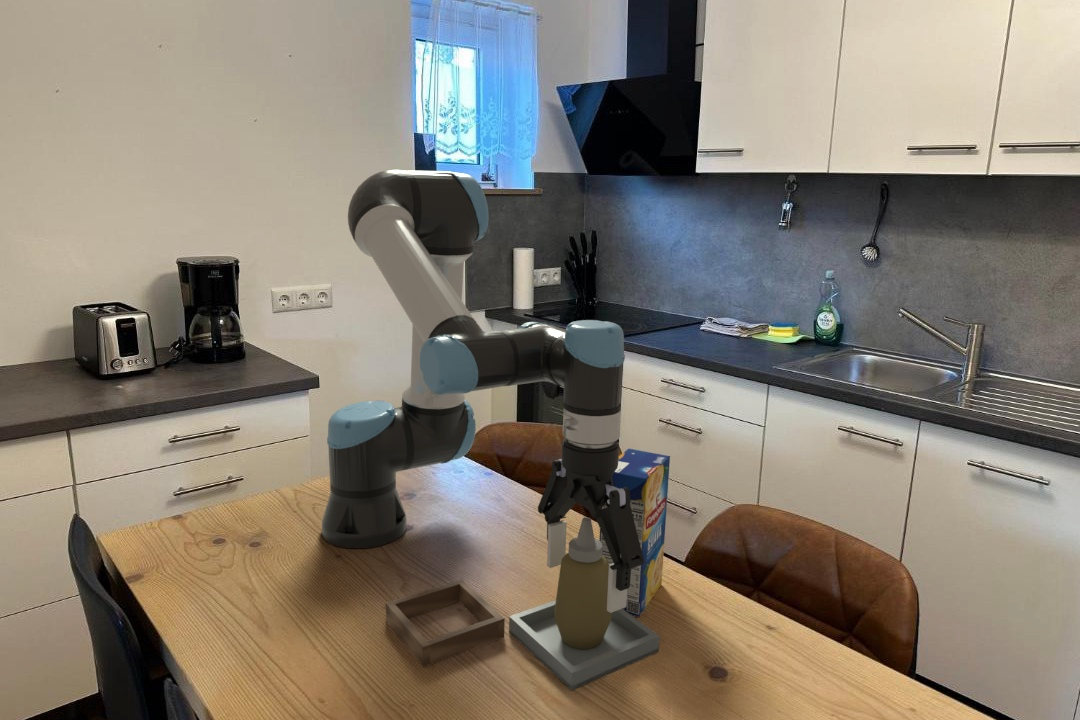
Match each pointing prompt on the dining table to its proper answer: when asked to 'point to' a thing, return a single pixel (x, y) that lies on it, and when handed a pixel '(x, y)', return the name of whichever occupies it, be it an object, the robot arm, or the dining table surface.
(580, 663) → the tray
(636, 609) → the beverage box
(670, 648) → the dining table surface
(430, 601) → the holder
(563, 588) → the squeeze bottle
